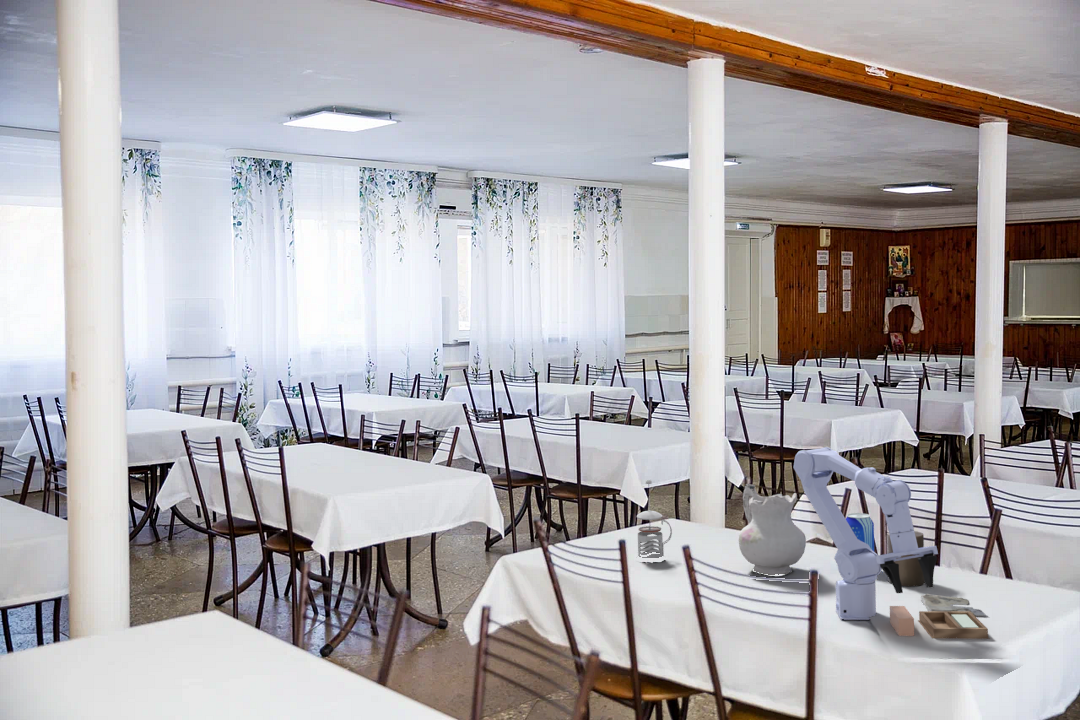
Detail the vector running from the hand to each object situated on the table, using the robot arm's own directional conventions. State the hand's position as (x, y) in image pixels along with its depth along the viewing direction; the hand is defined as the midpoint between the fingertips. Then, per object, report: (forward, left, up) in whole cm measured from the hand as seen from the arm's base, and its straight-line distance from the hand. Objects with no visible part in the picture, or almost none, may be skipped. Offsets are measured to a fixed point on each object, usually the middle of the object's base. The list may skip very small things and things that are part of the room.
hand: (914, 590), depth 241 cm
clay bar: (-3, 0, -10) cm, 11 cm away
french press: (-62, +72, -10) cm, 96 cm away
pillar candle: (+8, +45, -10) cm, 47 cm away
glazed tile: (+11, 0, -9) cm, 14 cm away
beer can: (-2, +59, -10) cm, 60 cm away
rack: (+8, 0, -10) cm, 13 cm away
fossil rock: (+14, +19, -11) cm, 26 cm away
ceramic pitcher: (-28, +58, -10) cm, 65 cm away
